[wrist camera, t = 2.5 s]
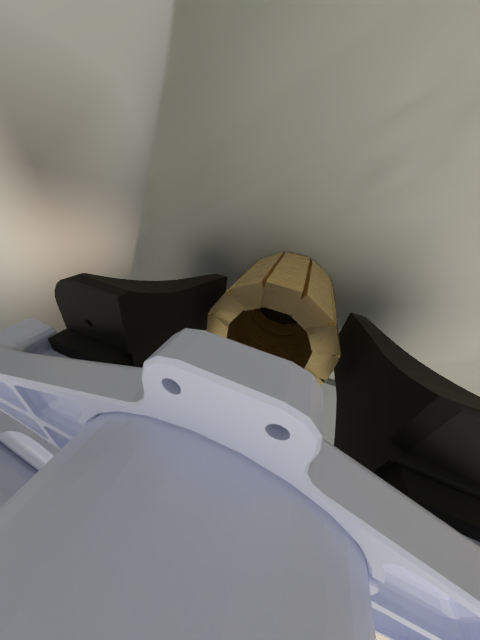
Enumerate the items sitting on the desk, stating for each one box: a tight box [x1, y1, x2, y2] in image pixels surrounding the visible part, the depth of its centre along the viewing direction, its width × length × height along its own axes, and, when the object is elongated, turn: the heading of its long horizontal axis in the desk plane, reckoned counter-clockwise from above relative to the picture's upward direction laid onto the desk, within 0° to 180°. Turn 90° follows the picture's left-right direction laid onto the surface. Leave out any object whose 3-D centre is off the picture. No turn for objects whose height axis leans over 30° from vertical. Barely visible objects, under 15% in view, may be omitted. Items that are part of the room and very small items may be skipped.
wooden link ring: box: [207, 252, 341, 385], centre depth 11 cm, size 6×6×5 cm
